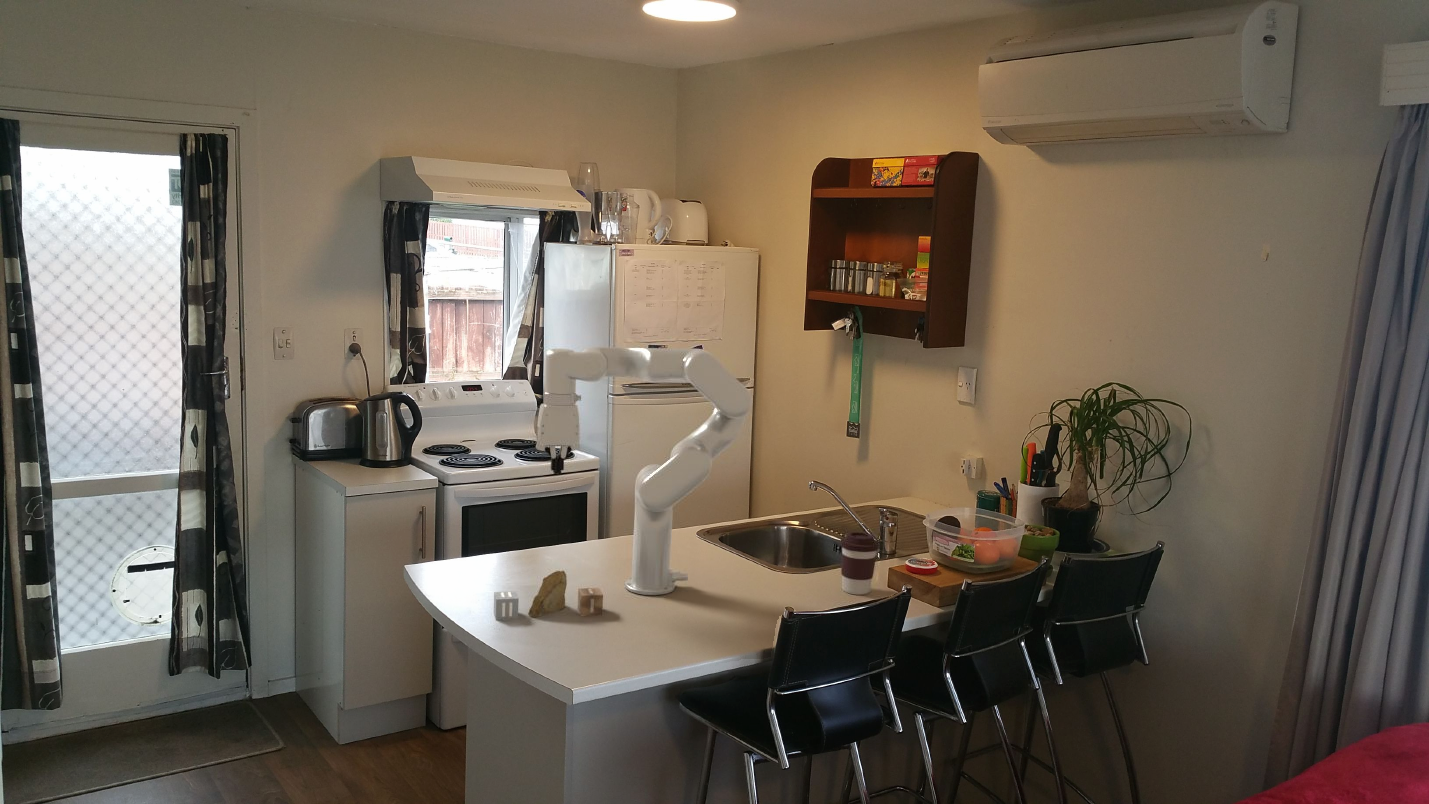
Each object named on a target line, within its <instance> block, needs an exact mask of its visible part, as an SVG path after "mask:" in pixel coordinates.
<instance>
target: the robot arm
mask: <svg viewBox="0 0 1429 804" xmlns="http://www.w3.org/2000/svg"><path fill="white" fill-rule="evenodd" d="M544 359H545V360H544V361H545V365H544V392H543V393H544V394H543V395H544V396H543V403H541V404H540V406H539V410H538V415H537V417H538V418H537V423H536V424H537V425H536V426H537V427H536V445H535V448H536V450H538V451H541V452H545V453H546V454H548V455H549V457H550V471H552V472H553V474H554V475H561V474H562V471H564V470H565V469H564V468H565V458H566V457H567V456H568V455H569V454H570V453H571V452H574V451H578V450H580V449H581V445H580V437H581V436H580V435H581V434H580V433H581V432H580V430H581V429H580V427H581V426H580V413H579V407H578V404H577V402H578V401H579V402H581V401H582V394H580V395H579V394H578V393H576V389H577V388H576V386H577V385H576V384H577V380H578V381H584V382H589V383H596V382H599V381H601V380H603V379H604V378H608V377H609V378H610V377H611V378H612V377H613V378H615V377H619V378H629V379H634V380H637V381H641V382H643V383H654V384H656V383H658V384H659V383H662V384H663V383H667V384H668V383H672V384H673V383H674V384H676V383H679V384H689V383H690V384H691V385H692V386H693V388H695V389H696V390H697V391H698V392H699V393H700V394H701V395H702V396H703V397H704V398H705V399H706V400H707V401H708V402H710V403H711V404H712V405H713V406H714V409H713V411H712V413H711V415H710V416H709V418H707V420H706V421H705V422H703V423H702V424H701V425H700V426H698V428H696V429H695V430H694V431H692V432H691V433H690V434H689V435H688V436H686V437H685V438H683V439H682V440H681V441H679V442H677V444H676V445H675V446H673V448H672V450H671V452H670V457H669V458H670V459H668V460H667V461H666V462H665V463H664V464H658V463H657V464H656V463H655V464H647V465H646V466H644V467H643V468H642V469H640V471H639V472H638V474H637V476H636V478H635V484H634V522H633V524H634V525H633V540H632V559H631V560H632V562H631V563H632V564H631V577H630V578H628V579H627V580H625V581H624V583H625V584H624V587H625V589H627V590H628V591H629V592H631V593H632V594H633V593H634V594H638V595H642V596H643V595H645V596H661V595H666V594H669V593H671V592H673V591H674V590H675V588H676V584H675V583H676V582H677V581H678V582H679V581H680V582H686V581H688V579H689V576H688V573H687V572H686V573H685V572H684V573H683V572H681V571H679V570H678V571H672V570H671V568H670V567H671V553H672V552H671V548H672V531H673V515H674V514H673V513H674V512H673V509H674V508H673V507H674V506H675V505H677V503H679V502H680V501H681V500H682V499H684V498H685V497H687V496H688V495H689V494H691V492H692V491H694V490H695V489H696V488H697V487H699V486H700V485H701V484H702V483H703V482H704V481H705V480H706V479H707V478H708V477H709V475H710V473H711V470H712V467H713V465H712V464H713V461H714V460H715V459H716V458H718V456H719V455H721V454H722V453H723V451H725V450H726V449H728V447H729V446H731V445H732V444H733V443H734V441H736V440H737V439H738V437H739V435H740V434H741V432H742V430H743V427H744V425H745V423H746V418H747V415H748V413H749V412H751V409H752V407H753V396H752V394H751V392H750V391H749V389H748V388H747V387H746V386H745V385H744V384H743V383H742V382H740V381H739V379H737V378H736V377H735V376H734V375H733V374H732V373H730V372H729V370H727V369H726V367H724V366H723V365H722V363H720V361H719V360H718V359H717V358H716V357H715V356H714V355H713V354H712V353H711V352H709V351H707V350H705V349H702V348H684V347H683V348H679V347H678V348H672V347H671V348H665V347H664V348H663V347H661V348H660V347H659V348H657V347H656V348H654V347H615V346H612V347H606V346H604V347H603V346H602V347H601V346H599V347H598V346H595V347H588V348H585V349H583V350H582V351H579V352H578V351H574V350H573V349H567V348H551V349H549V350H547V351H546V353H545V358H544ZM556 447H560V448H559V453H558V454H557V452H556Z"/></svg>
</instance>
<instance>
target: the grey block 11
mask: <svg viewBox="0 0 1429 804" xmlns="http://www.w3.org/2000/svg"><path fill="white" fill-rule="evenodd" d="M519 602H520V601H519V595H518V593H517V591H515V590H513V591H495V592H494V593H493V615H494V619H495V621H507V620H509V621H510V620H519Z"/></svg>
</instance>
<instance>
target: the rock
mask: <svg viewBox="0 0 1429 804" xmlns="http://www.w3.org/2000/svg"><path fill="white" fill-rule="evenodd" d="M567 583H568V582H567V574H566V572H565V570H556V571H554V572H551V574H548V575H547V576H546V577H544V578H543V579H542V583H541V586H540V588H539V590H538V591H537V594H536V595H534V596H535V597H534V598H533V601H532V603H531V606H530V608H529V610H528V613H527V615H529V616H530V617H532V618H539V617H540V616H541V617H542V616H545V615H547V614H551V613H554V612H557V611H559V610H563V609H564V608H565V607H566V596H565V595H566V589H567Z"/></svg>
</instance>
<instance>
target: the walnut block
mask: <svg viewBox="0 0 1429 804" xmlns="http://www.w3.org/2000/svg"><path fill="white" fill-rule="evenodd" d="M603 607H604V593H603V591H602V590H601V588H600V587H591V588H590V587H587V588H578V591H577V610H578V612H579V614H580V616H581V617H587V616H590V617H591V616H602V615H603V609H604V608H603Z"/></svg>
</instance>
